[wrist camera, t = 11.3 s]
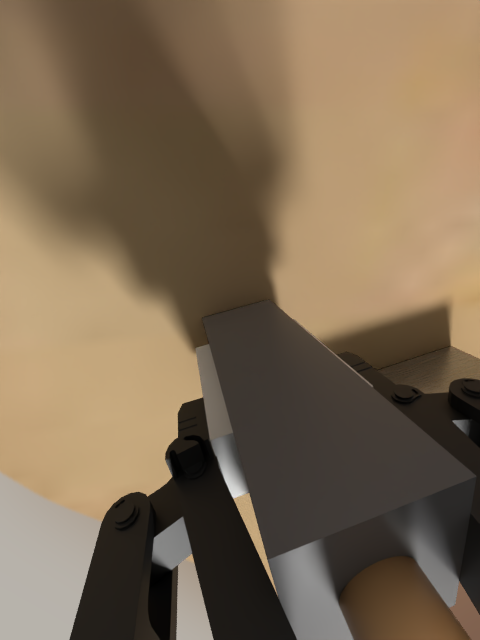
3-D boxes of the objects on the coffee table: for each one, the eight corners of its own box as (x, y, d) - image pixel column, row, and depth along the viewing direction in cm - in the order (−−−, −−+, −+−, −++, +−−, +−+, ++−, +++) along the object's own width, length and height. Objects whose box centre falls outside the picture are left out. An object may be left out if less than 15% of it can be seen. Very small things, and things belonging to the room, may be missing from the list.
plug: (201, 317, 16) (356, 890, 2) (269, 299, 16) (714, 679, 3) (220, 383, 17) (371, 927, 4) (280, 365, 18) (592, 794, 4)
